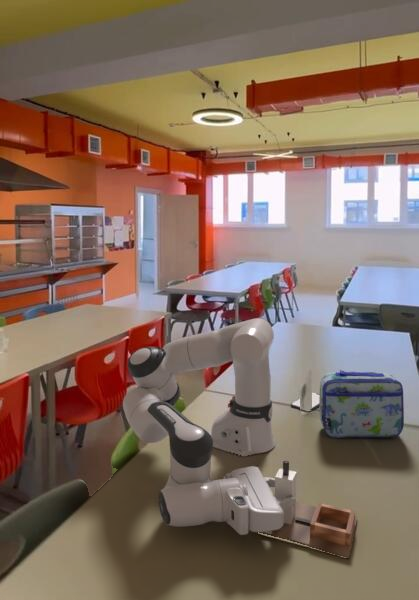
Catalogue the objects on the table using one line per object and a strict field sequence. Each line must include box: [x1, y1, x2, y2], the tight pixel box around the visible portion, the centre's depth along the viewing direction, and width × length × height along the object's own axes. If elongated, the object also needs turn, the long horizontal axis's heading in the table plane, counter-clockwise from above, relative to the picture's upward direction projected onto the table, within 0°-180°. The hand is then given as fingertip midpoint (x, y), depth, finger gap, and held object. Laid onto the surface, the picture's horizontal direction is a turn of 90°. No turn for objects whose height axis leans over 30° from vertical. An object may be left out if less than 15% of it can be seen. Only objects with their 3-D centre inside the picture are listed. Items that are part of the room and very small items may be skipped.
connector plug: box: [274, 460, 297, 524], centre depth 109 cm, size 4×4×14 cm
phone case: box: [290, 392, 320, 412], centre depth 181 cm, size 9×2×16 cm
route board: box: [259, 501, 358, 559], centre depth 108 cm, size 20×14×4 cm
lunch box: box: [318, 369, 405, 439], centre depth 153 cm, size 26×11×21 cm, turn 84°
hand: (289, 491), depth 110 cm, fingers closed on connector plug, 6 cm apart
